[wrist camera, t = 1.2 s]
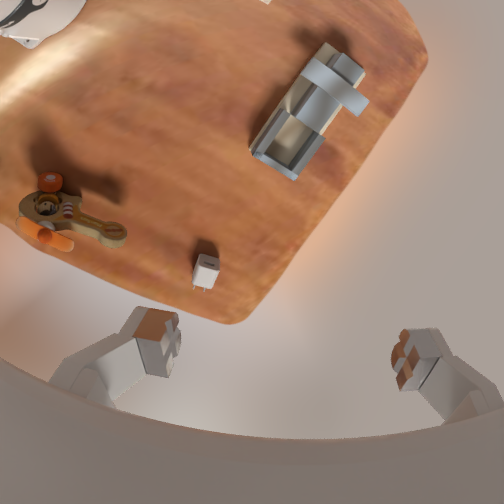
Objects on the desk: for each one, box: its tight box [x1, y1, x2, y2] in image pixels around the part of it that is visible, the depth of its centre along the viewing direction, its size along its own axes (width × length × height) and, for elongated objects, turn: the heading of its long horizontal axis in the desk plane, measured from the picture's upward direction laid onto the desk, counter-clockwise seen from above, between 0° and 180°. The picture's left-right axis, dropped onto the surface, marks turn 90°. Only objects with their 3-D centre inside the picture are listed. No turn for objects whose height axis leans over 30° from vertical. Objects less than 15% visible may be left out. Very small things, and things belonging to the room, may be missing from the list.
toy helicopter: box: [16, 172, 127, 252], centre depth 39 cm, size 8×21×14 cm, turn 64°
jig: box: [249, 42, 369, 181], centre depth 37 cm, size 10×21×6 cm, turn 148°
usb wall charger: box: [192, 254, 220, 292], centre depth 53 cm, size 4×7×4 cm, turn 157°
